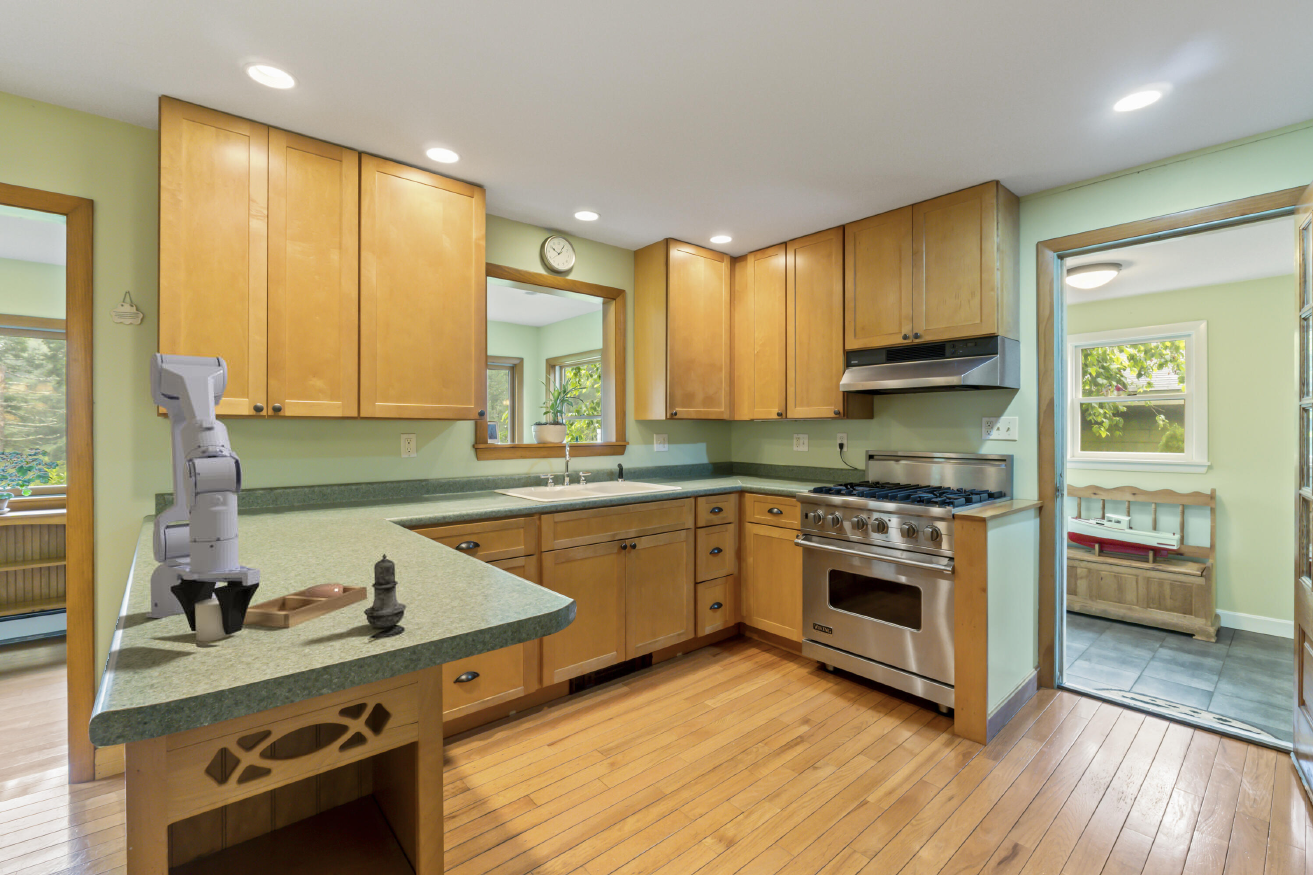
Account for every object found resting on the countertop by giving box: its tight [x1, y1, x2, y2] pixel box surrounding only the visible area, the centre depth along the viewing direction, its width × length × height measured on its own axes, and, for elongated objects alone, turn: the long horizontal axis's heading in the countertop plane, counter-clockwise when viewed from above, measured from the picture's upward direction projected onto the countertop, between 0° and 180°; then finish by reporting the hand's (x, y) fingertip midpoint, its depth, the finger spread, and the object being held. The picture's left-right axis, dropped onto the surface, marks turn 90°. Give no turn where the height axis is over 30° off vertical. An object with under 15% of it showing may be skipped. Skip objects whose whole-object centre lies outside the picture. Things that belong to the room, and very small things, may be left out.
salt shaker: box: [363, 553, 407, 639], centre depth 90 cm, size 6×6×12 cm
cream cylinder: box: [195, 598, 237, 649], centre depth 87 cm, size 5×5×6 cm
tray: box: [243, 585, 368, 629], centre depth 98 cm, size 10×16×3 cm, turn 165°
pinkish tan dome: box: [305, 582, 344, 599], centre depth 102 cm, size 6×6×3 cm
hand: (216, 630), depth 87 cm, fingers open, 6 cm apart
